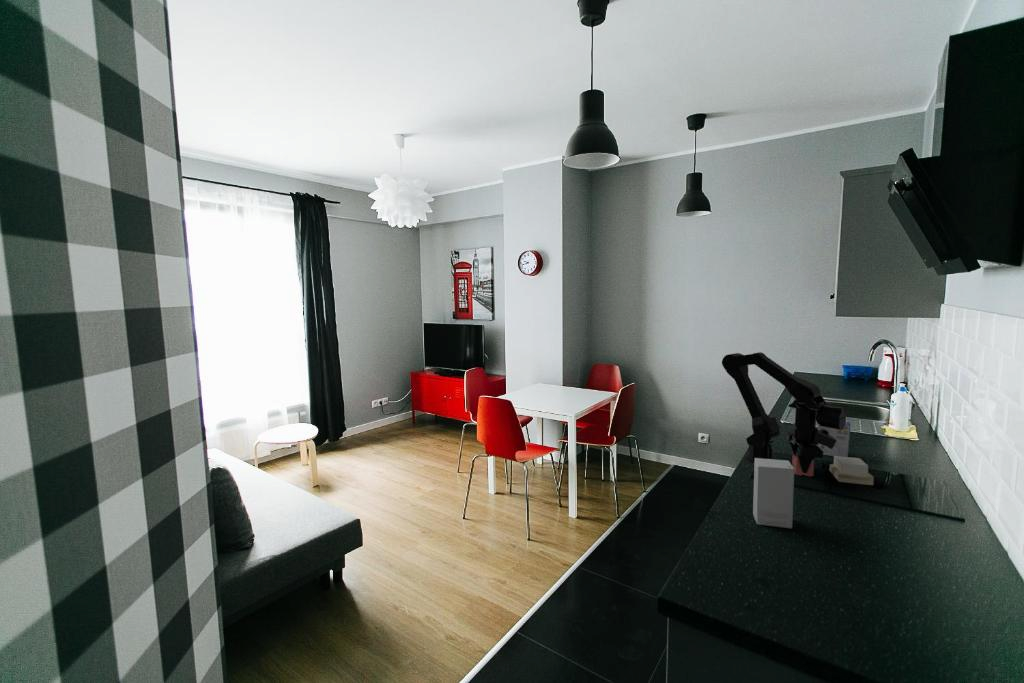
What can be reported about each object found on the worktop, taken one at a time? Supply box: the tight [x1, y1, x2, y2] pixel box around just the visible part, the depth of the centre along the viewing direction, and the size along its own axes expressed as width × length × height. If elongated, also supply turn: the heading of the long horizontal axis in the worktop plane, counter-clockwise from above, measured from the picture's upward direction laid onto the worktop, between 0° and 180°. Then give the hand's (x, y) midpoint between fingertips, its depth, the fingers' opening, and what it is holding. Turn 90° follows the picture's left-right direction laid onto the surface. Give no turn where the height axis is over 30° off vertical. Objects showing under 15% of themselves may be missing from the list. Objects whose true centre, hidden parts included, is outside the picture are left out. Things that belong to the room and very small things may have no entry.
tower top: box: [832, 456, 869, 475], centre depth 148 cm, size 7×7×3 cm
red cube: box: [791, 454, 815, 477], centre depth 152 cm, size 5×5×5 cm
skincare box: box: [752, 458, 795, 529], centre depth 119 cm, size 8×7×16 cm
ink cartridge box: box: [816, 421, 851, 457], centre depth 169 cm, size 10×6×14 cm, turn 55°
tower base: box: [829, 463, 875, 486], centre depth 148 cm, size 9×9×3 cm
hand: (802, 469), depth 153 cm, fingers closed on red cube, 5 cm apart
